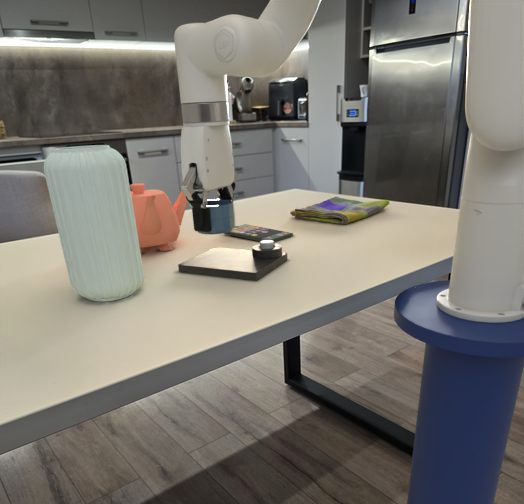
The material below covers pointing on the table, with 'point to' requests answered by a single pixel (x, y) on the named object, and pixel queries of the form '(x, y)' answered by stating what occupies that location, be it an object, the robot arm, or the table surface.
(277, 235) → the smartphone
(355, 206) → the dish towel
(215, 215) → the bowl
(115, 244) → the vase
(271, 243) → the button
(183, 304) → the table surface
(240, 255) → the scale
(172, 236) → the teapot
